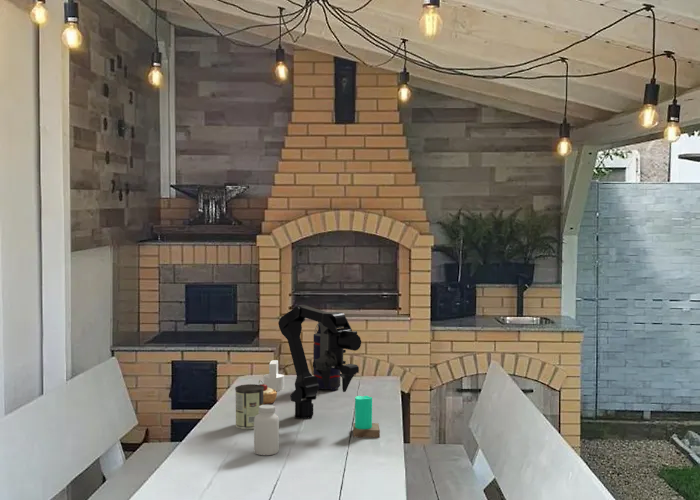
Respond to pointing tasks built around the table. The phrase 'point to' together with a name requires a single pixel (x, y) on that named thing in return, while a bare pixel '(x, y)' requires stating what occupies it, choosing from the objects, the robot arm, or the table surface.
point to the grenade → (319, 351)
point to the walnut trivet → (367, 431)
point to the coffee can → (248, 404)
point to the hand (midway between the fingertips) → (335, 389)
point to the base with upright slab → (274, 377)
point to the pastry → (268, 394)
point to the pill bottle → (266, 431)
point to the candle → (363, 412)
